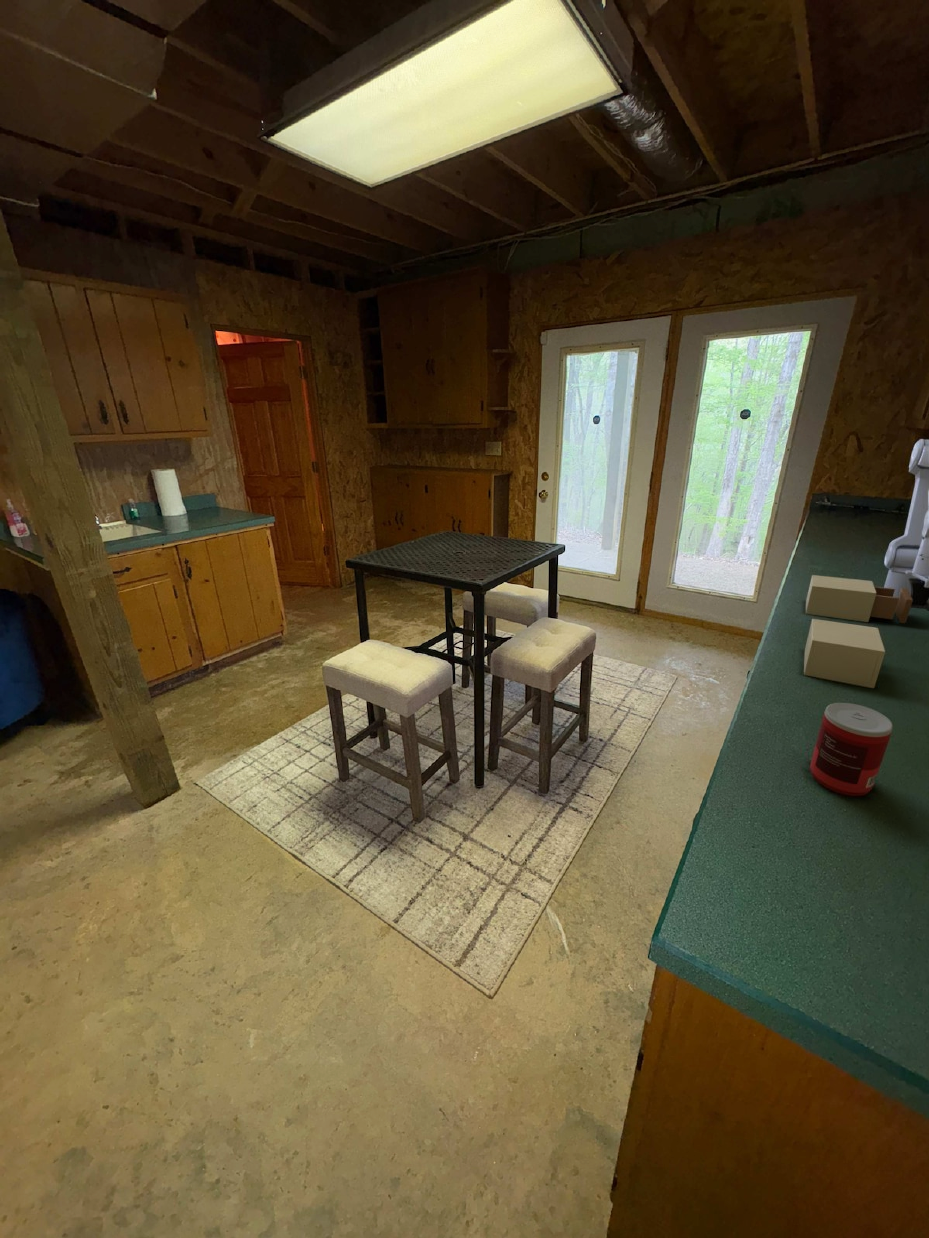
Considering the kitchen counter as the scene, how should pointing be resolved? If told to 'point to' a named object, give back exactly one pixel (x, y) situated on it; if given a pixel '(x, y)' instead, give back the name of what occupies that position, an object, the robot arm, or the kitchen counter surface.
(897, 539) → the robot arm
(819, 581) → the cardboard box
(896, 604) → the drawer
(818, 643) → the cardboard box
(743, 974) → the kitchen counter surface
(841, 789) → the canned food
